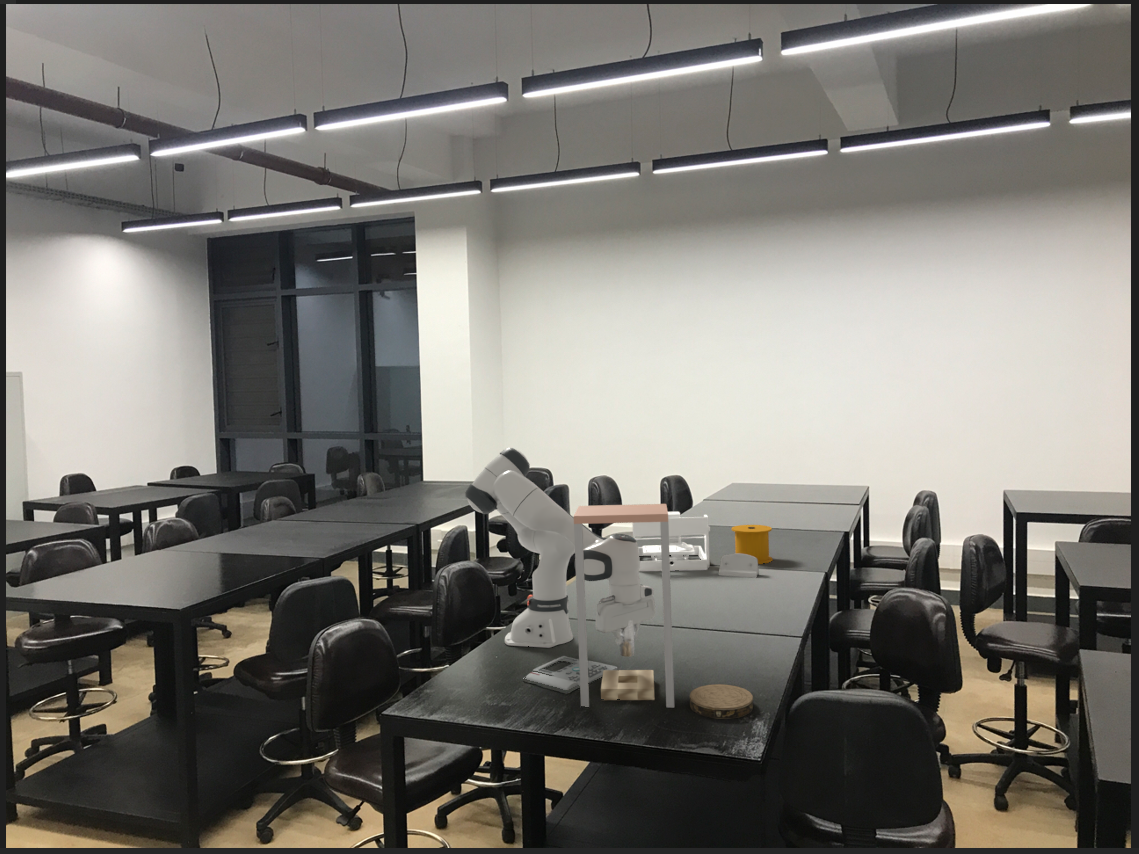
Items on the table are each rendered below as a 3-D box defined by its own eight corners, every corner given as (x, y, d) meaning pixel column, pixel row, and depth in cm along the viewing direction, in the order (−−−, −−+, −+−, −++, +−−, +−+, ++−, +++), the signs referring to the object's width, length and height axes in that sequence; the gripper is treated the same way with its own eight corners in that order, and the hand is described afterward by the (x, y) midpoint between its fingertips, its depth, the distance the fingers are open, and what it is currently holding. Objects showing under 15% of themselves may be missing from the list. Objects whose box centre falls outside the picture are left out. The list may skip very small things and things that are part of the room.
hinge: (717, 575, 347) (718, 551, 350) (720, 576, 351) (721, 553, 354) (757, 577, 340) (758, 553, 343) (759, 578, 345) (760, 555, 347)
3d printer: (707, 554, 389) (703, 502, 388) (714, 570, 357) (710, 513, 356) (633, 559, 392) (629, 507, 390) (634, 575, 360) (629, 518, 359)
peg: (619, 656, 227) (618, 621, 226) (620, 651, 231) (619, 617, 230) (634, 656, 227) (633, 621, 226) (634, 651, 231) (633, 616, 230)
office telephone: (567, 688, 220) (513, 673, 233) (567, 697, 220) (513, 682, 233) (617, 662, 238) (565, 650, 251) (618, 671, 238) (565, 658, 251)
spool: (724, 559, 378) (723, 526, 377) (755, 554, 385) (755, 522, 384) (748, 566, 361) (747, 532, 361) (780, 561, 369) (780, 528, 368)
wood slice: (764, 704, 210) (764, 693, 209) (732, 725, 198) (732, 713, 198) (711, 690, 220) (710, 679, 220) (677, 709, 208) (677, 698, 208)
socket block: (601, 700, 216) (600, 688, 216) (603, 680, 230) (603, 670, 230) (654, 699, 215) (654, 688, 214) (653, 680, 228) (653, 669, 228)
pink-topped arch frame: (581, 707, 211) (573, 516, 209) (585, 683, 228) (578, 505, 225) (674, 707, 209) (668, 513, 206) (671, 683, 226) (666, 503, 223)
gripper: (605, 601, 219) (606, 652, 220) (658, 587, 232) (659, 635, 233) (589, 597, 224) (591, 647, 224) (642, 584, 237) (644, 631, 237)
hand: (626, 641), depth 229 cm, fingers closed on peg, 4 cm apart
